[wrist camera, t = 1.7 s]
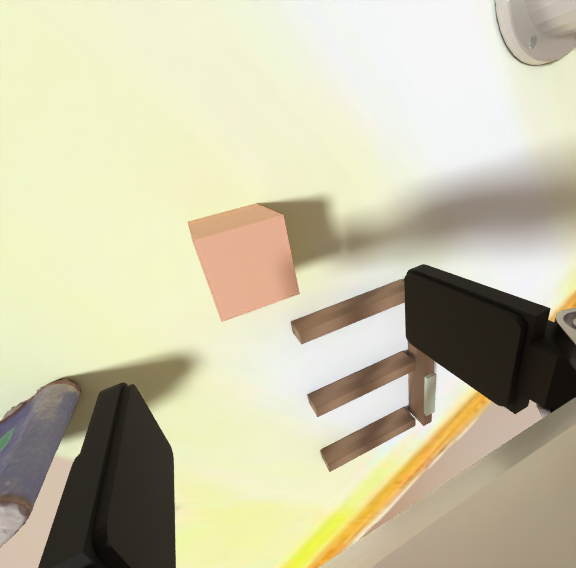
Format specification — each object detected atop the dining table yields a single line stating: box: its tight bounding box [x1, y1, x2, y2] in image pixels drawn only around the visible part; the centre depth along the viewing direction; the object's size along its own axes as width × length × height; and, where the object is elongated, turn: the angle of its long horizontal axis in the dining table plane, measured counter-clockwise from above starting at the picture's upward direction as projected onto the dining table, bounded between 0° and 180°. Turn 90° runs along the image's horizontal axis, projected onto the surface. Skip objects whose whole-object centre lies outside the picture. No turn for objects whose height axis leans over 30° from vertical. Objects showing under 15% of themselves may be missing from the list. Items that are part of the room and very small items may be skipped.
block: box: [188, 204, 300, 322], centre depth 19 cm, size 5×5×6 cm
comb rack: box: [291, 280, 436, 472], centre depth 30 cm, size 14×20×3 cm
